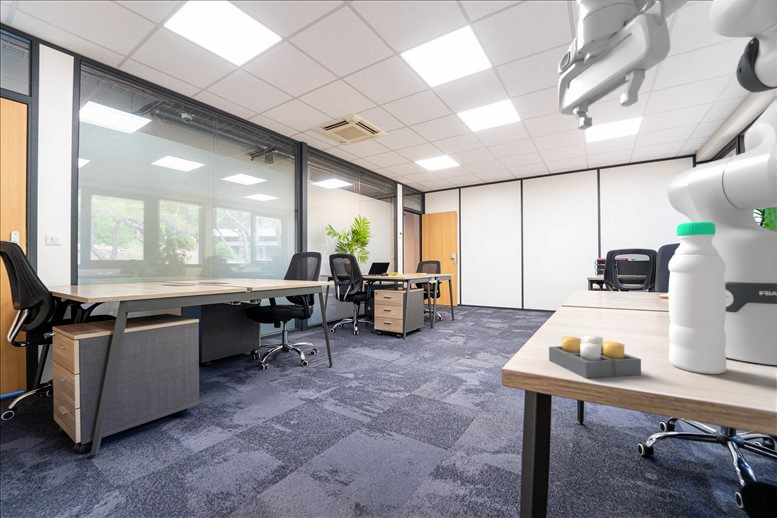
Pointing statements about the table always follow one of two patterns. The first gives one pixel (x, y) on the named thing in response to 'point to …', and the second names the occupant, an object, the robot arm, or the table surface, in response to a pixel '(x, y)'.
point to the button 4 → (613, 350)
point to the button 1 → (571, 344)
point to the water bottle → (697, 301)
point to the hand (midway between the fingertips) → (605, 117)
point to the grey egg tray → (595, 364)
